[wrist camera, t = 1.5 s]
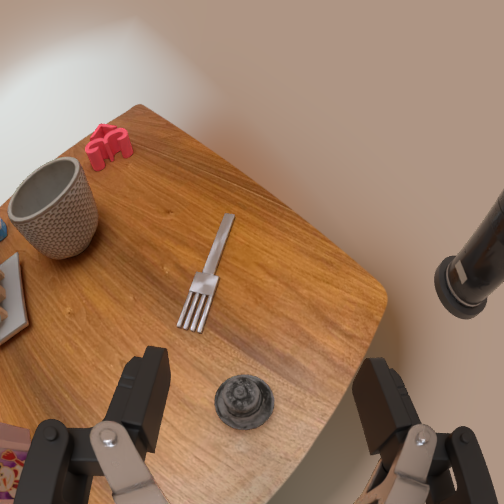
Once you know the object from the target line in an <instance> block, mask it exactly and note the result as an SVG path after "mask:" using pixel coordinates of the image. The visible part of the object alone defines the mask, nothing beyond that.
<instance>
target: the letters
mask: <svg viewBox="0 0 504 504" xmlns="http://www.w3.org/2000/svg"><path fill="white" fill-rule="evenodd" d="M90 141H91V142H89V143H88V144H87V145H86V148H85V150H86V153H87V155H88V158H89V160H90V162H91V165H92V167H93V169H94V170H95V171H100V170H102V169H104V167H105V163H104V159H110V160H111V162H112V161H114V155H115V154H116V153H117V152H119V151H121V152H122V155H123V157H124V158H128V157H130V156H131V155H132V154H133V149H132V146H131V142H130V139H129V136H128V133H127V130H126V129H124V128H118V129H117V126H114V125H107V124H99V126H98V127H97V128H96V130H95V131H94V133H93V134H92V136H91V137H90Z"/></svg>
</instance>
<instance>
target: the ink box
mask: <svg viewBox="0 0 504 504" xmlns="http://www.w3.org/2000/svg"><path fill="white" fill-rule="evenodd" d="M6 236H7V228H6V224H5V223H4V221H3V220H2V219H1V218H0V241H2V240H3V239H4V238H5V237H6Z"/></svg>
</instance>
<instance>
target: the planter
mask: <svg viewBox="0 0 504 504" xmlns="http://www.w3.org/2000/svg"><path fill="white" fill-rule="evenodd" d="M8 216H9V219H10V220H11V222H12V224H13V225H14V226H15V227H16V229H17V230H18V231H19V232H20V233H21V234H22V235H23V236H24V237H25V238H26V240H27V241H28V242H29V243H30V244H31V245H33V246H34V247H35V248H36V249H37V250H38V251H39V252H40V253H42V254H43V255H45V256H46V257H48V258H51V259H65V258H68V257H73V256H76V255H78V254H80V253H81V252H83V251H84V250H85V249H86V248H87V247H88V245H89V244H90V242H91V239H92V237H93V235H94V233H95V231H96V228H97V224H98V210H97V206H96V203H95V200H94V197H93V194H92V191H91V188H90V186H89V183H88V181H87V178H86V176H85V173H84V170H83V168H82V166H81V164H80V163H79V161H78V160H77V159H75V158H73V157H62V158H58V159H55V160H52V161H50V162H48V163H46V164H44V165H42V166H41V167H39V168H38V169H37V170H35V171H34V172H32V174H30V175H29V176H28V177H27V178H26V179H25V180H24V181H23V182H22V183H21V184H20V186H19V187H18V188H17V190H16V191H15V193H14V194H13V196H12V198H11V200H10V202H9V206H8Z"/></svg>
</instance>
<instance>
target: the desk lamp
mask: <svg viewBox="0 0 504 504" xmlns="http://www.w3.org/2000/svg"><path fill="white" fill-rule="evenodd" d="M28 325H29V323H28V318H27V312H26V306H25V300H24V293H23V285H22V276H21V266H20V265H19V253H18V252H17V253H15V254H14V255H13V256H11V257H10V258H9V259H7V260H6V261H5V262H3V263H2V264H1V265H0V345H1V344H3V343H4V342H6V341H7V340H8V339H10V338H11V337H13V336H14V335H15V334H17V333H18V332H20V331H21V330H22V329H24V328H25V327H27V326H28Z"/></svg>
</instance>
